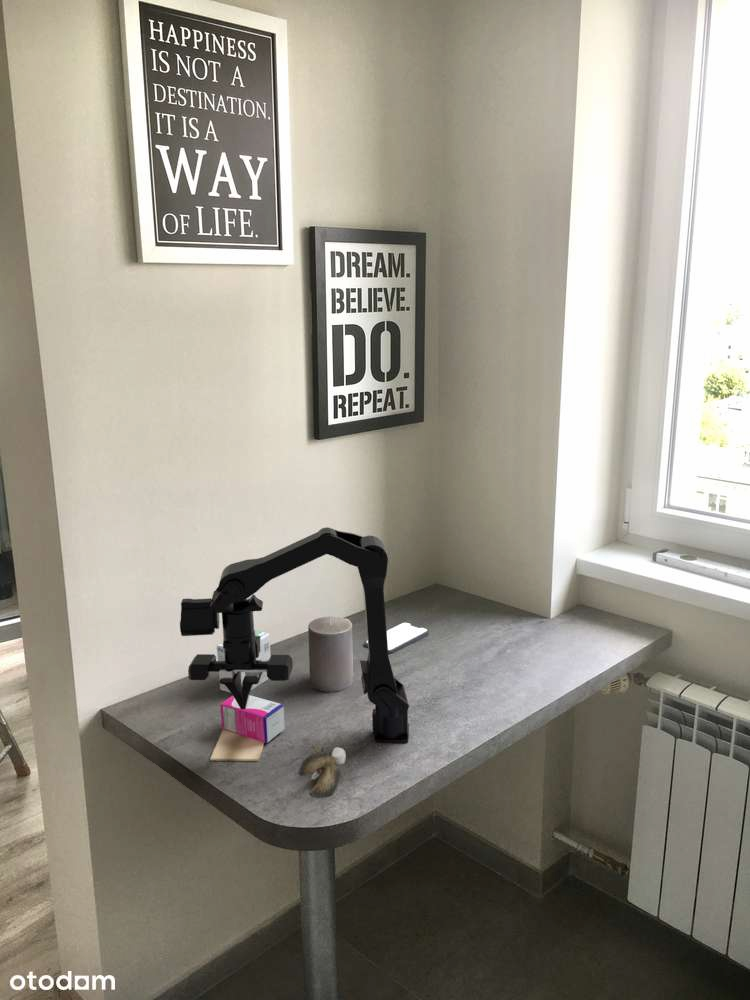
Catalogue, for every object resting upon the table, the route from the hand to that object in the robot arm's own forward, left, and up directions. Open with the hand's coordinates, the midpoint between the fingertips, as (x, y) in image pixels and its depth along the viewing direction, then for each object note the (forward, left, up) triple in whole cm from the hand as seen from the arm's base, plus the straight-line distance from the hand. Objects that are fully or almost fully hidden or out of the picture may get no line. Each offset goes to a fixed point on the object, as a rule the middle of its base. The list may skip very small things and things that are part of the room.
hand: (243, 708), depth 159 cm
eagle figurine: (-16, +12, -8) cm, 22 cm away
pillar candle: (-14, -26, -8) cm, 31 cm away
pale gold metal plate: (+1, -1, -8) cm, 8 cm away
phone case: (-28, -49, -8) cm, 57 cm away
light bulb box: (+5, -25, -8) cm, 27 cm away
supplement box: (-6, -2, -4) cm, 7 cm away
